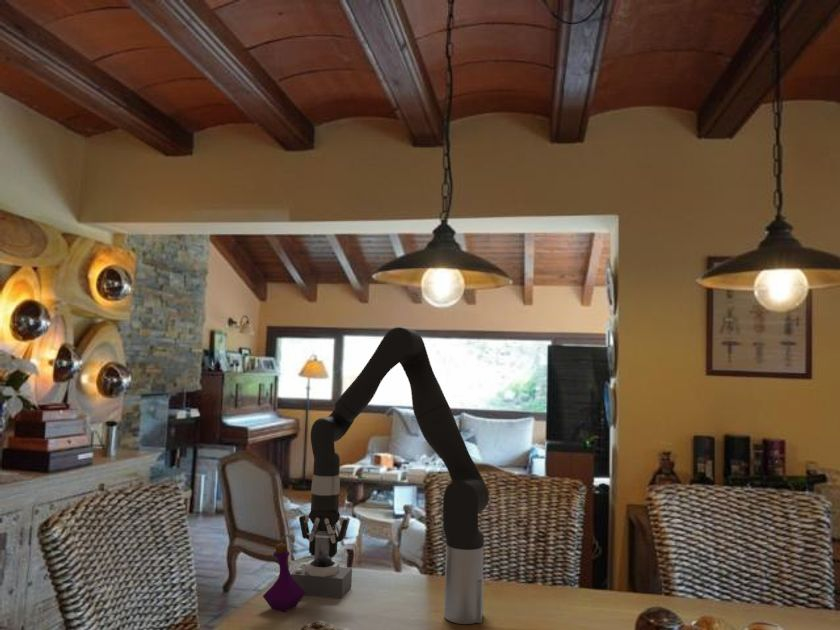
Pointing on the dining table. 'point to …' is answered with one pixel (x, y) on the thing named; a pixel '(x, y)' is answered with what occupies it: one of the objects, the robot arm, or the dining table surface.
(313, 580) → the camera body
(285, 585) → the perfume bottle
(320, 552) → the lens
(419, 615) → the dining table surface
